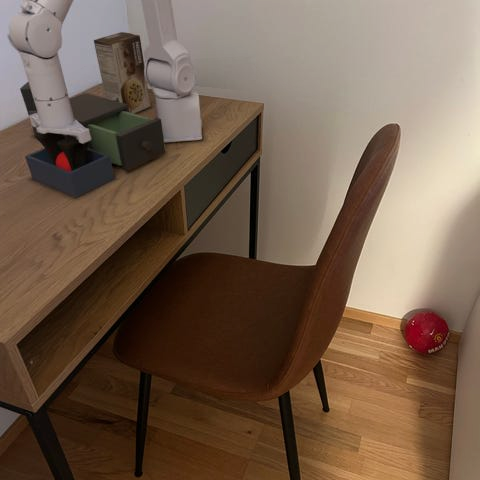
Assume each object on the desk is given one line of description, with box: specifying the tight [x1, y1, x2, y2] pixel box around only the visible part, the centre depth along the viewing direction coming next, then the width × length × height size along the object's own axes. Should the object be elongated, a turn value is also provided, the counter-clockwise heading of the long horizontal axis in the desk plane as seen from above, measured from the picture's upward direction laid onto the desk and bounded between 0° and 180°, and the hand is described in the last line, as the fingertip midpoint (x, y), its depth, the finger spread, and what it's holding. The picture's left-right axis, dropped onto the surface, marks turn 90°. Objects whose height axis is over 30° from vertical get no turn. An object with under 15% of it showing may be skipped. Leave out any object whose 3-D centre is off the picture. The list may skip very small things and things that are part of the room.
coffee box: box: [93, 31, 151, 114], centre depth 113 cm, size 9×6×16 cm
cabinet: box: [65, 92, 130, 149], centre depth 99 cm, size 13×12×8 cm
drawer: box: [86, 111, 166, 172], centre depth 94 cm, size 14×11×7 cm
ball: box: [56, 152, 72, 172], centre depth 89 cm, size 5×5×5 cm
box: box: [24, 147, 115, 199], centre depth 89 cm, size 13×9×5 cm
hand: (71, 171), depth 90 cm, fingers closed on ball, 4 cm apart
